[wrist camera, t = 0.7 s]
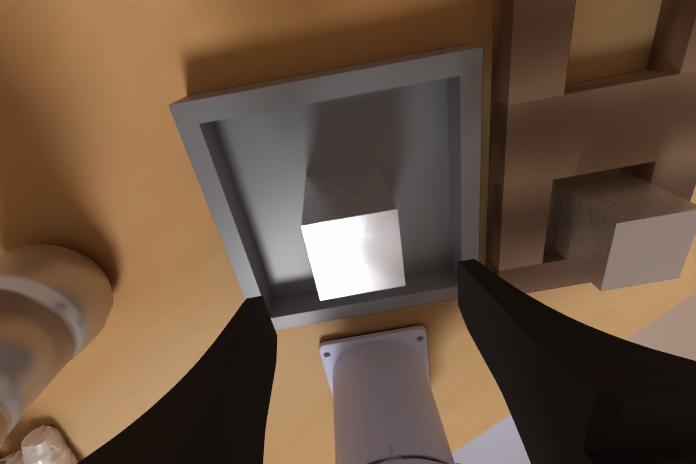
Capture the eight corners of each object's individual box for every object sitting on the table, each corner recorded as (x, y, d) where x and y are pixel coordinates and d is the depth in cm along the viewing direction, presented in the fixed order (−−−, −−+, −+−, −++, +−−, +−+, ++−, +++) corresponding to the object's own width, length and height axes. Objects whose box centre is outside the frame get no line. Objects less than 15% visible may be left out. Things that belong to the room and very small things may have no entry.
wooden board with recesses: (642, 252, 25) (666, 269, 23) (485, 279, 25) (497, 298, 23) (756, -142, 15) (813, -164, 13) (497, -92, 15) (520, -108, 14)
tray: (463, 271, 25) (477, 295, 23) (263, 306, 25) (258, 333, 23) (463, 45, 18) (482, 47, 16) (186, 96, 18) (168, 105, 16)
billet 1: (384, 224, 22) (405, 285, 17) (320, 236, 22) (320, 300, 17) (376, 162, 20) (397, 208, 15) (306, 175, 20) (301, 225, 15)
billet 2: (599, 223, 24) (678, 277, 18) (538, 233, 24) (600, 291, 19) (611, 165, 22) (704, 208, 16) (545, 177, 22) (616, 223, 17)
